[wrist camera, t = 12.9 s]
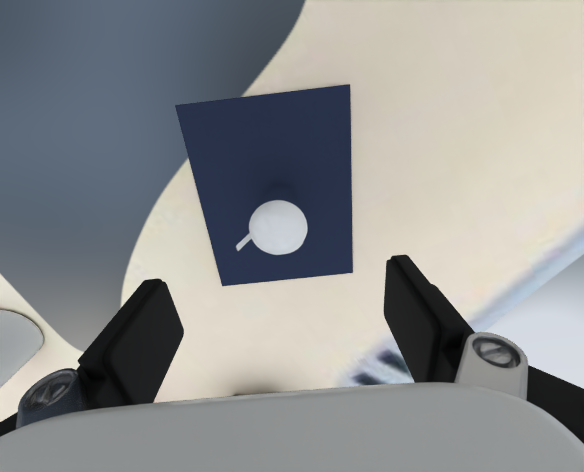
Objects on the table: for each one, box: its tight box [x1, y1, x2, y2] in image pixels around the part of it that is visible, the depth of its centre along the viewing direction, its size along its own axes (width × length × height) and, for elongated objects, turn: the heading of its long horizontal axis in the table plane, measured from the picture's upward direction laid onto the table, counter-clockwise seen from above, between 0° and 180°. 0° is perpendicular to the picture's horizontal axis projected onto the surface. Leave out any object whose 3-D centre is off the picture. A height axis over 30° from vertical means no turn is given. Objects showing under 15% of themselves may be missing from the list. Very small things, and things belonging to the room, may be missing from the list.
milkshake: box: [236, 184, 307, 255], centre depth 24 cm, size 5×5×10 cm
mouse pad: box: [175, 85, 353, 286], centre depth 28 cm, size 20×16×1 cm
